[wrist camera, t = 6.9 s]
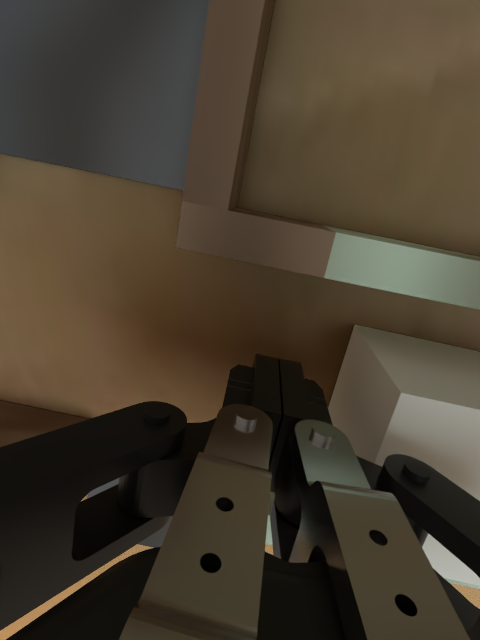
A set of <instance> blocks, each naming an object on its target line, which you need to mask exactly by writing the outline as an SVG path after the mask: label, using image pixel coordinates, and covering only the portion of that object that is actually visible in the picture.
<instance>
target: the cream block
mask: <svg viewBox="0 0 480 640" xmlns="http://www.w3.org/2000/svg"><path fill="white" fill-rule="evenodd" d="M328 411H329V414H330V417H331V421H332V424H333V426H334V427H336V428H338V429H339V430H340V431H342V432H343V433H344V434H345V435H346V436H347V438H348V439H349V441H350V443H351V446H352V448H353V450H354V452H355V454H356V455H357V456H358V457H360V458H363V459H365V460H367V461H370V462H372V463H374V464H377V465H379V466H383V464H384V461H385V458H386V457H387V456H389V455H392V454H402V455H407V456H411V457H413V458H416V459H418V460H420V461H422V462H424V463H426V464H428V465H429V466H431V467H432V468H434V469H435V470H436V471H438V472H439V473H441V474H442V475H443V476H445V477H446V478H448V479H449V480H451V481H452V482H453V483H455V484H456V485H458V486H459V487H460V488H462V489H463V490H465V491H466V492H468V493H469V494H470V495H472V496H473V497H475V498H476V499H478V500H479V501H480V351H475V350H470V349H466V348H461V347H457V346H452V345H448V344H443V343H438V342H434V341H429V340H425V339H420V338H415V337H411V336H406V335H402V334H397V333H392V332H388V331H383V330H379V329H374V328H370V327H365V326H360V325H356V324H355V325H354V328H353V331H352V334H351V337H350V341H349V344H348V347H347V350H346V353H345V356H344V359H343V363H342V366H341V369H340V372H339V375H338V378H337V381H336V385H335V388H334V391H333V394H332V397H331V400H330V404H329V407H328ZM422 548H423V550H424V552H425V554H426V556H427V558H428V560H429V562H430V564H431V566H432V567H433V569H435V570H436V571H437V572H438V573H439V574H440V575H441V576H442V577H443V578H447V579H452V580H456V581H461V582H465V583H470V584H474V585H479V586H480V578H479V577H478V576H477V575H476V574H475V573H474V572H473V571H472V570H471V569H470V568H469V567H467V566H466V565H465V564H464V563H463V562H461V561H460V560H459V559H458V558H457V557H456V556H454V555H453V554H452V553H451V552H450V551H449V550H447V549H446V548H445V547H444V546H443V545H442V544H440V543H439V542H438V541H437V540H436V539H434V538H433V537H432V536H431V535H430V534H428V536H427V538H426V540H425V542H424V544H423V547H422Z"/></svg>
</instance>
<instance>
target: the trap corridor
mask: <svg viewBox="0 0 480 640" xmlns="http://www.w3.org/2000/svg"><path fill="white" fill-rule="evenodd" d="M274 3H275V0H0V153H1V154H6V155H11V156H16V157H21V158H26V159H31V160H36V161H41V162H46V163H51V164H55V165H60V166H65V167H70V168H75V169H80V170H85V171H90V172H95V173H100V174H105V175H110V176H115V177H120V178H125V179H130V180H135V181H140V182H145V183H149V184H154V185H159V186H164V187H169V188H174V189H179V190H183V196H182V203H181V210H180V217H179V225H178V232H177V239H176V247H175V248H179V249H184V250H189V251H194V252H199V253H204V254H208V255H213V256H218V257H223V258H228V259H233V260H238V261H243V262H248V263H253V264H258V265H262V266H267V267H272V268H277V269H282V270H287V271H292V272H297V273H302V274H307V275H311V276H316V277H321V278H326V279H331V280H336V281H341V282H346V283H351V284H356V285H361V286H365V287H370V288H375V289H380V290H385V291H390V292H395V293H400V294H405V295H410V296H414V297H419V298H424V299H429V300H434V301H439V302H444V303H449V304H454V305H459V306H464V307H468V308H473V309H478V310H480V257H479V256H474V255H469V254H464V253H459V252H454V251H449V250H444V249H439V248H434V247H429V246H424V245H419V244H415V243H410V242H405V241H400V240H395V239H390V238H385V237H380V236H375V235H370V234H365V233H360V232H355V231H350V230H345V229H340V228H335V227H331V226H326V225H321V224H316V223H311V222H306V221H301V220H296V219H291V218H286V217H281V216H276V215H271V214H266V213H261V212H256V211H251V210H247V209H242V208H237V206H238V201H239V195H240V190H241V184H242V179H243V173H244V168H245V162H246V157H247V151H248V146H249V140H250V135H251V129H252V124H253V118H254V113H255V107H256V102H257V96H258V91H259V85H260V80H261V74H262V69H263V63H264V58H265V52H266V47H267V41H268V36H269V30H270V25H271V19H272V14H273V8H274ZM85 420H88V419H86V418H82V417H77V416H72V415H67V414H63V413H58V412H53V411H48V410H43V409H39V408H34V407H29V406H24V405H20V404H15V403H10V402H5V401H0V447H2V446H5V445H9V444H12V443H15V442H18V441H21V440H25V439H28V438H31V437H34V436H37V435H40V434H44V433H47V432H50V431H53V430H56V429H60V428H63V427H66V426H69V425H72V424H75V423H79V422H82V421H85ZM117 484H119V478H118V479H115V480H113V481H111V482H109V483H107V484H105V485H102V486H100V487H98V488H96V489H94V490H92V491H91V492H89V493H88V498H90V497H92V496H94V495H96V494H98V493H100V492H102V491H105V490H107V489H109V488H111V487H113V486H115V485H117ZM274 499H275V493H274V492H270V500H269V510H268V521H267V532H266V542H265V544H269V545H273V543H272V533H271V523H270V513H271V509H272V506H273V502H274ZM172 518H173V516H169V519H168V521H167V523H166V524H165V525H164V526H163V528H161V529H160V530H158V531H157V532H155V533H154V534H152V535H151V536H149V537H147V538H146V539H144V540H143V541H141V542H139V543H138V544H140V545H145V546H149V547H154V548H156V547H161V545H162V543H163V540H164V538H165V535H166V533H167V530H168V528H169V525H170V523H171V520H172ZM444 579H445V580H447V581H448V582H449V583H453V584H458V585H463V586H468V587H472V588H477V589H480V586H479V585H474V584H470V583H465V582H461V581H456V580H452V579H447V578H444Z"/></svg>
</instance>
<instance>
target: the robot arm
mask: <svg viewBox="0 0 480 640" xmlns="http://www.w3.org/2000/svg"><path fill="white" fill-rule="evenodd" d="M118 478H119V484H117V485H115V486H113V487H111V488H109V489H107V490H105V491H102V492H100V493H98V494H96V495H94V496H92V497H90V498H88V499H86V500H84V501H81V500H82V499H83V498H84V497H85V496H86V495H87V494H88V493H89V492H91V491H92V490H94V489H96V488H98V487H100V486H102V485H105V484H107V483H109V482H111V481H113V480H115V479H118ZM270 492H274V493H275V499H274V502H273V506H272V509H271V513H270V523H271V533H272V543H273V553H274V556H273V555H271V554H269V553H267V552H265V542H266V532H267V521H268V510H269V500H270ZM80 501H81V502H80ZM169 516H173V518H172V520H171V523H170V525H169V528H168V530H167V533H166V535H165V538H164V540H163V543H162V545H161V547H156V548H152V549H148V550H145V551H142V552H139V553H137V554H134V555H131V556H130V557H128V558H126V559H124V560H122V561H120V562H118V563H117V564H115V565H113V566H112V567H110V568H109V569H108V570H106V571H105V572H103V573H102V574H100V575H99V576H97V577H96V578H94V579H93V580H92V581H90V582H89V583H87V584H86V585H84V586H83V587H81V588H80V589H79V590H77V591H76V592H74V593H73V594H71V595H70V596H68V597H67V598H66V599H64V600H63V601H61V602H60V603H58V604H57V605H55V606H54V607H53V608H51V609H50V610H48V611H47V612H45V613H44V614H42V615H41V616H40V617H38V618H37V619H35V620H34V621H32V622H31V623H29V624H28V625H27V626H25V627H24V628H22V629H21V630H19V631H18V632H16V633H15V634H13V635H12V636H11V637H9V638H8V639H6V640H480V609H478V608H477V607H475V606H474V605H473V604H472V603H471V602H469V601H468V600H467V599H466V598H465V597H464V596H463V595H462V594H461V593H460V592H459V591H457V590H456V589H455V588H454V587H453V586H452V585H451V584H450V583H449V582H448V581H447V580H445V579H444V578H443V577H442V576H441V575H440V574H439V573H438V572H437V571H436V570H435V569H433V567H432V566H431V564H430V562H429V560H428V558H427V556H426V554H425V552H424V550H423V548H422V547H423V544H424V542H425V540H426V538H427V536H428V534H430V535H431V536H432V537H433V538H434V539H436V540H437V541H438V542H439V543H440V544H442V545H443V546H444V547H445V548H446V549H447V550H449V551H450V552H451V553H452V554H453V555H454V556H456V557H457V558H458V559H459V560H460V561H461V562H463V563H464V564H465V565H466V566H467V567H469V568H470V569H471V570H472V571H473V572H474V573H475V574H476V575H477V576H478V577H479V578H480V501H479V500H478V499H476V498H475V497H473V496H472V495H470V494H469V493H468V492H466V491H465V490H463V489H462V488H460V487H459V486H458V485H456V484H455V483H453V482H452V481H451V480H449V479H448V478H446V477H445V476H443V475H442V474H441V473H439V472H438V471H436V470H435V469H434V468H432V467H431V466H429V465H428V464H426V463H424V462H422V461H420V460H418V459H416V458H413V457H411V456H407V455H402V454H392V455H389V456H387V457H386V458H385V461H384V464H383V466H379V465H377V464H374V463H372V462H370V461H367V460H365V459H363V458H360V457H358V456H357V455H356V454H355V452H354V450H353V448H352V446H351V443H350V441H349V439H348V438H347V436H346V435H345V434H344V433H343V432H342V431H340V430H339V429H338V428H336V427H334V426H333V424H332V421H331V417H330V414H329V411H328V407H327V404H326V400H325V397H324V393H323V390H322V389H321V388H320V387H319V386H318V384H317V383H316V382H315V381H313V380H308V379H304V376H303V371H302V366H301V363H297V362H293V361H288V360H283V359H279V360H278V358H274V357H269V356H264V355H260V354H256V356H255V360H254V364H253V368H252V367H247V366H243V365H237V366H235V367H234V368H232V369H231V370H230V374H229V379H228V384H227V388H226V393H225V397H224V402H223V407H222V408H221V409H220V411H219V412H218V415H217V418H215V419H213V420H211V421H207V422H202V423H187V418H186V416H185V414H184V413H183V411H181V410H180V409H179V408H177V407H176V406H173V405H171V404H168V403H164V402H156V401H150V402H143V403H139V404H136V405H133V406H129V407H126V408H123V409H120V410H117V411H114V412H110V413H107V414H104V415H101V416H98V417H94V418H91V419H88V420H85V421H82V422H79V423H75V424H72V425H69V426H66V427H63V428H60V429H56V430H53V431H50V432H47V433H44V434H40V435H37V436H34V437H31V438H28V439H25V440H21V441H18V442H15V443H12V444H9V445H5V446H2V447H0V630H2V629H4V628H5V627H7V626H8V625H10V624H11V623H13V622H15V621H16V620H18V619H19V618H21V617H23V616H24V615H26V614H27V613H29V612H30V611H32V610H34V609H35V608H37V607H38V606H40V605H41V604H43V603H45V602H46V601H48V600H49V599H51V598H53V597H54V596H56V595H57V594H59V593H60V592H62V591H64V590H65V589H67V588H68V587H70V586H72V585H73V584H75V583H76V582H78V581H79V580H81V579H83V578H84V577H86V576H87V575H89V574H90V573H92V572H94V571H95V570H97V569H98V568H100V567H102V566H103V565H105V564H106V563H108V562H109V561H111V560H113V559H114V558H116V557H117V556H119V555H121V554H122V553H124V552H125V551H127V550H128V549H130V548H132V547H133V546H135V545H136V544H138V543H139V542H141V541H143V540H144V539H146V538H147V537H149V536H151V535H152V534H154V533H155V532H157V531H158V530H160V529H161V528H163V526H164V525H165V524H166V523H167V521H168V519H169Z"/></svg>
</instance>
